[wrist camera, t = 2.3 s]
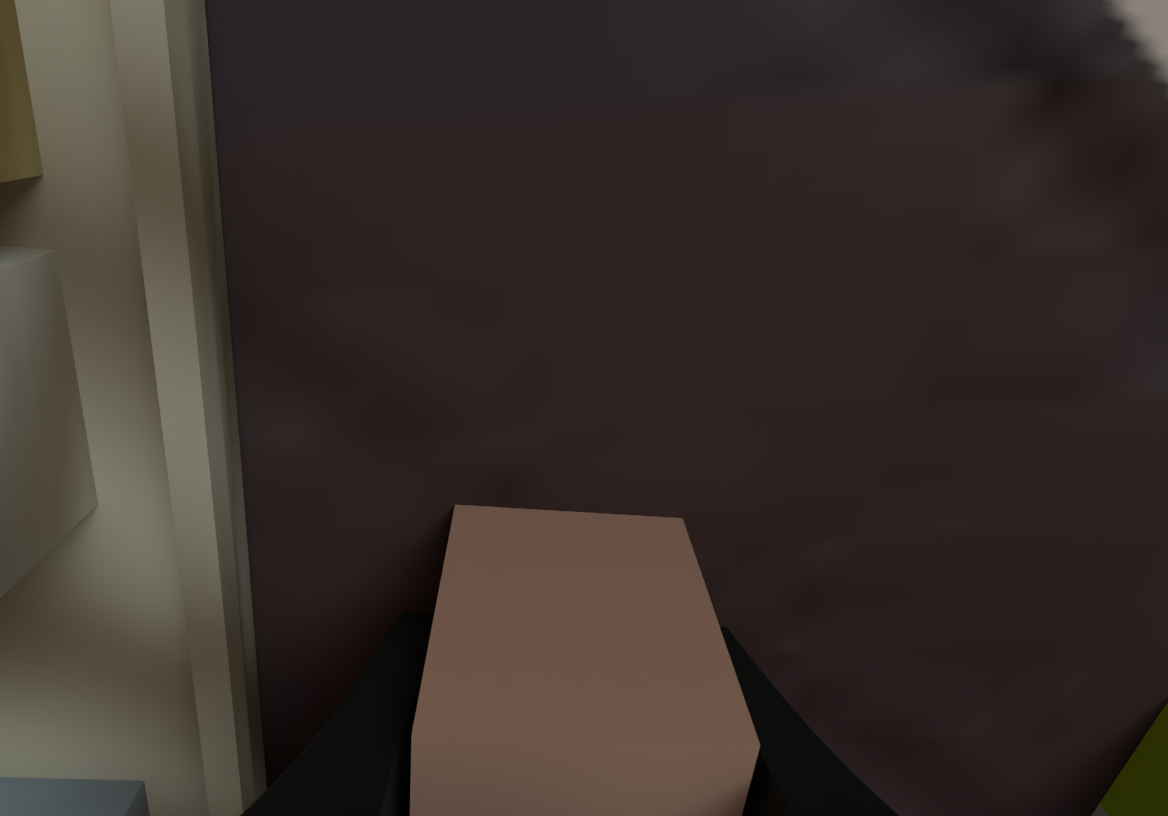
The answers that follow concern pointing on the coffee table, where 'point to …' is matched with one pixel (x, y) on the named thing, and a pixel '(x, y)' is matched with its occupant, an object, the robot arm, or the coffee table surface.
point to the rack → (118, 425)
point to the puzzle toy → (1142, 777)
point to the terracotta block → (577, 674)
